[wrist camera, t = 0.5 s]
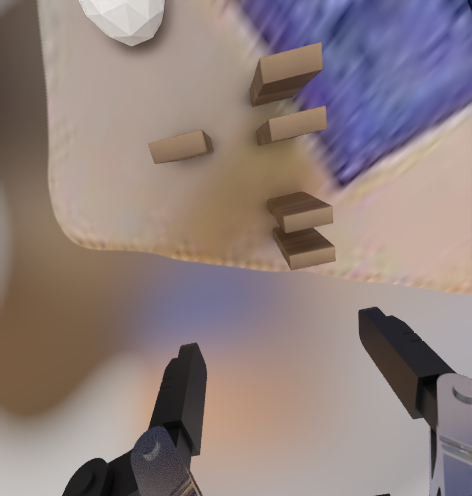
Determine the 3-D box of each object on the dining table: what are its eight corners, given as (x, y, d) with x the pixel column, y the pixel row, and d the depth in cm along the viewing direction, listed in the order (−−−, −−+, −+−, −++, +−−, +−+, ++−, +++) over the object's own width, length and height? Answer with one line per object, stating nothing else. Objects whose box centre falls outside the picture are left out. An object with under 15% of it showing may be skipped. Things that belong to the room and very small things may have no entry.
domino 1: (172, 146, 30) (147, 143, 21) (210, 137, 30) (201, 130, 21) (176, 160, 31) (154, 163, 22) (213, 152, 31) (206, 151, 21)
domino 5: (273, 228, 35) (289, 256, 26) (306, 221, 35) (334, 246, 25) (274, 239, 35) (291, 270, 26) (307, 232, 35) (335, 261, 26)
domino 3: (256, 130, 30) (268, 119, 21) (295, 121, 30) (325, 105, 20) (258, 145, 30) (272, 141, 21) (296, 136, 30) (326, 128, 21)
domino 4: (268, 199, 33) (283, 216, 24) (302, 191, 33) (332, 206, 24) (270, 211, 34) (285, 233, 25) (304, 203, 34) (333, 222, 24)
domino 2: (249, 89, 28) (259, 58, 19) (290, 79, 28) (321, 42, 19) (252, 106, 29) (263, 84, 20) (292, 96, 29) (322, 69, 19)
